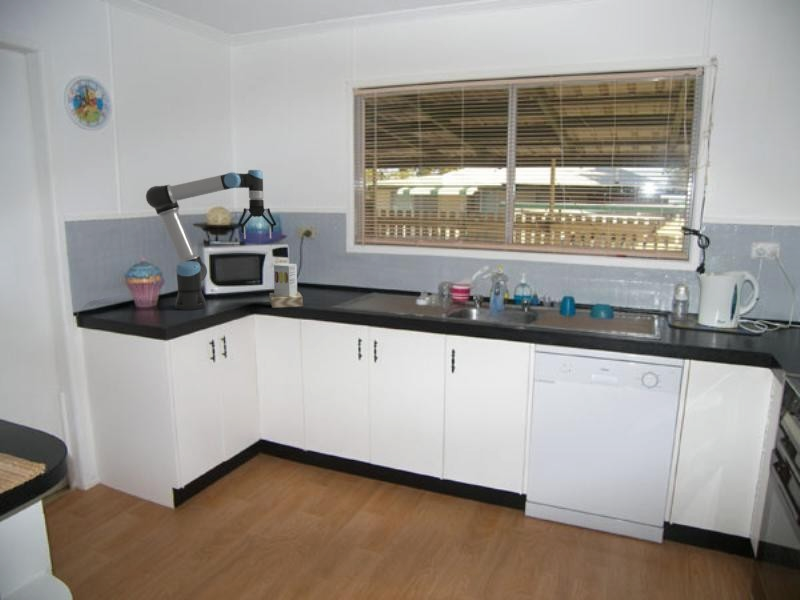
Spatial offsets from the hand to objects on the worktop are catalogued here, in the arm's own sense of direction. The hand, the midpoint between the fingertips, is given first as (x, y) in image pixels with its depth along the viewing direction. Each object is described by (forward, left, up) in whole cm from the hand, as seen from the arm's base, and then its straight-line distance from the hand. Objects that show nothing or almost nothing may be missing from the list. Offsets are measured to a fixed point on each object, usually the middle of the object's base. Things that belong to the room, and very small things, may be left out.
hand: (257, 238), depth 308 cm
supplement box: (+13, -12, -30) cm, 35 cm away
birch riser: (+13, -12, -35) cm, 39 cm away
